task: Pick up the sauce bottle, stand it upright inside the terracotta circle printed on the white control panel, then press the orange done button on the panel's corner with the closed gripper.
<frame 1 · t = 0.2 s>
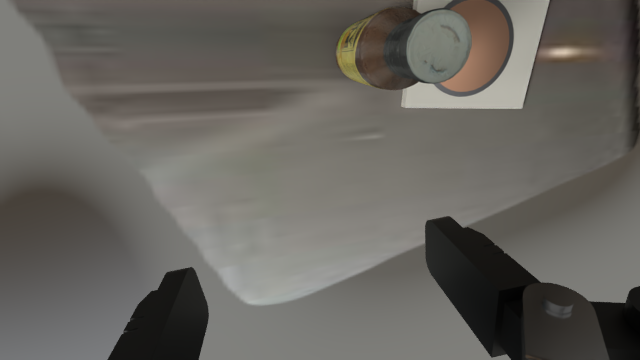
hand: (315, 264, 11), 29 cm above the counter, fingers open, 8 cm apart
sauce bottle: (357, 53, 36), on the counter
white control panel: (479, 1, 36), on the counter
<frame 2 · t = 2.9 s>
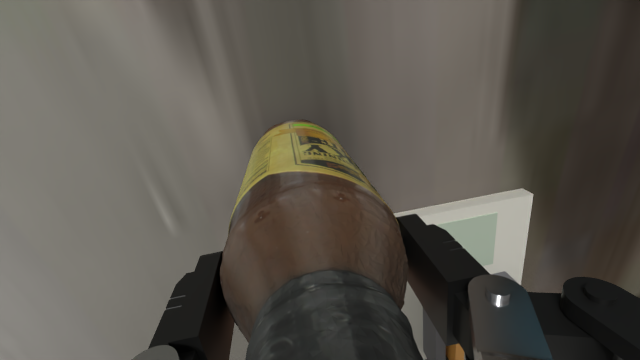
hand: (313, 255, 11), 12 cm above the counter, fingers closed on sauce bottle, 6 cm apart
done button: (477, 332, 26), point 3 cm above the counter, slide at 0.0 cm
sauce bottle: (295, 157, 22), on the counter, touching gripper
white control panel: (387, 293, 28), on the counter
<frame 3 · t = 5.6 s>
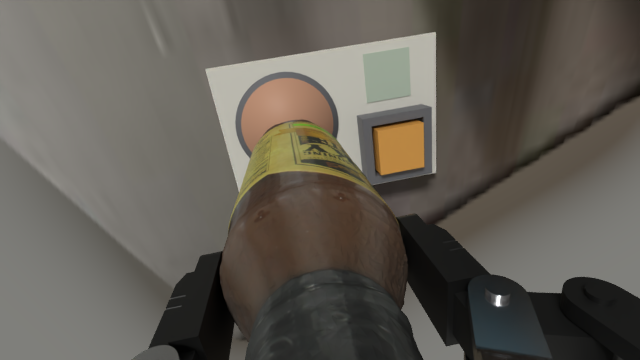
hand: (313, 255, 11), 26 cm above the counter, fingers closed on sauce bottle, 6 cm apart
done button: (398, 147, 34), point 3 cm above the counter, slide at 0.0 cm
sauce bottle: (295, 157, 22), point 14 cm above the counter, touching gripper
white control panel: (332, 124, 35), on the counter
when the fingers open (14 cm above the counter, at t = 8.3 s): sauce bottle stays where it is, resting on white control panel.
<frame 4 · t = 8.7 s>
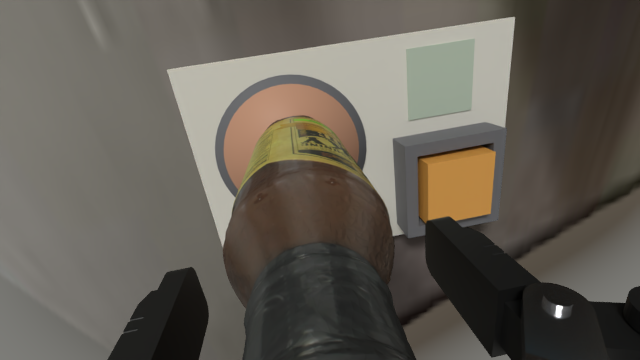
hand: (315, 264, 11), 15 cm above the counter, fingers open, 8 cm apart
done button: (453, 185, 23), point 3 cm above the counter, slide at 0.0 cm
sauce bottle: (296, 151, 23), point 1 cm above the counter, touching white control panel
white control panel: (355, 150, 25), on the counter
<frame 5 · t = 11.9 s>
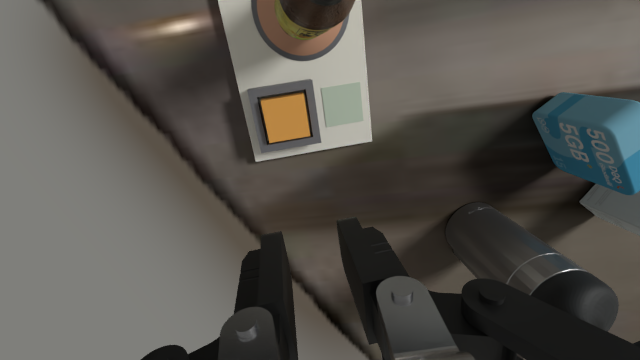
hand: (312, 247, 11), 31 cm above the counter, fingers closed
skincare box: (602, 188, 52), on the counter
data package: (554, 131, 47), on the counter
done button: (285, 117, 37), point 3 cm above the counter, slide at 0.0 cm
sauce bottle: (302, 10, 35), point 1 cm above the counter, touching white control panel
white control panel: (299, 56, 38), on the counter
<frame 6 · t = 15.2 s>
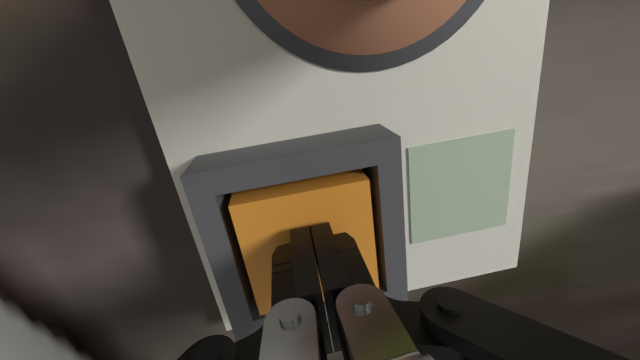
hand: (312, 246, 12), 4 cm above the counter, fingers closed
done button: (308, 238, 13), point 3 cm above the counter, slide at 0.6 cm, touching gripper
white control panel: (347, 58, 13), on the counter
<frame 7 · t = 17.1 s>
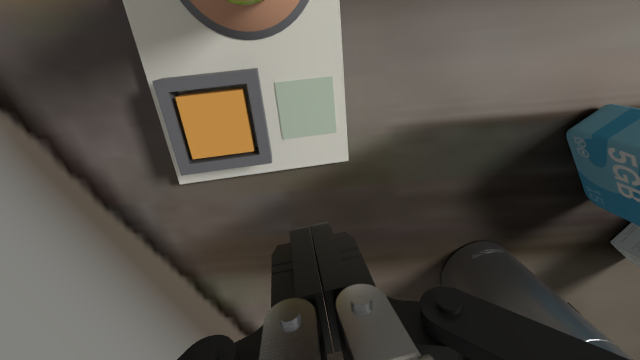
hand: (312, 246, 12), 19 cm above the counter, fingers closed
skincare box: (639, 226, 42), on the counter
data package: (590, 154, 36), on the counter
done button: (218, 122, 25), point 3 cm above the counter, slide at 0.7 cm
white control panel: (242, 33, 25), on the counter
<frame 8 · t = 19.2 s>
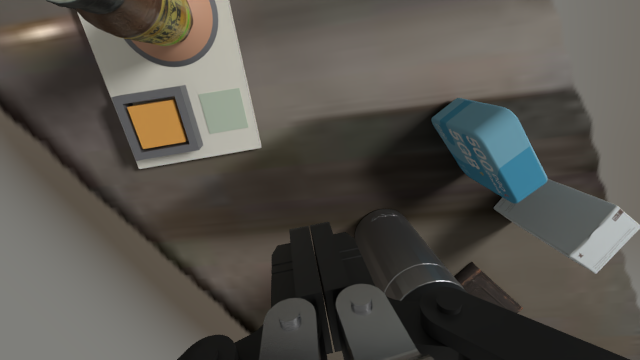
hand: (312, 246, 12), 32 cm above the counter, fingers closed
hardcover book: (447, 318, 61), on the counter
skincare box: (517, 194, 52), on the counter
data package: (458, 137, 46), on the counter
done button: (159, 123, 37), point 3 cm above the counter, slide at 0.7 cm
sauce bottle: (167, 15, 34), point 1 cm above the counter, touching white control panel
white control panel: (174, 62, 37), on the counter
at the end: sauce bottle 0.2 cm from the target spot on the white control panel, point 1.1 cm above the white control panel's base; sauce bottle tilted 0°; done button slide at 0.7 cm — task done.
